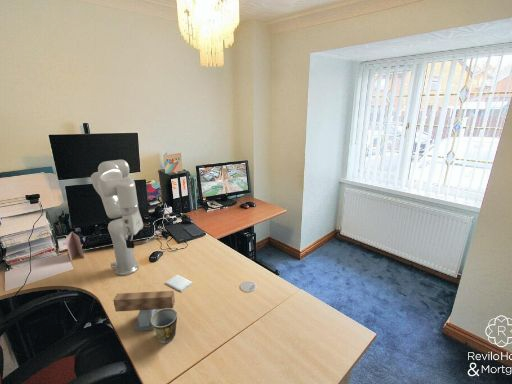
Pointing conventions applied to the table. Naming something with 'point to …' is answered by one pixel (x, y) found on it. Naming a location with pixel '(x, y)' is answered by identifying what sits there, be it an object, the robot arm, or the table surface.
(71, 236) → the greeting card
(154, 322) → the ceramic cup
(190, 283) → the hard drive
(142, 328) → the ridge block
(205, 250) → the table surface
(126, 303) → the walnut batten
